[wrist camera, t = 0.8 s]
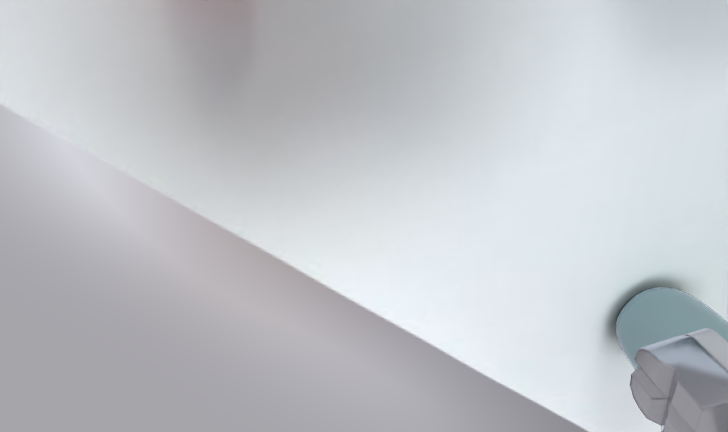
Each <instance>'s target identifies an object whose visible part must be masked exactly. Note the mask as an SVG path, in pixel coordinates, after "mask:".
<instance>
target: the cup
mask: <svg viewBox="0 0 728 432" xmlns="http://www.w3.org/2000/svg"><path fill="white" fill-rule="evenodd" d="M704 328H710V329H712V330H714V331H716V332H717V333H718V334H719V335H720V336H722V337H723V338H724V339H725V340H726V341H727V342H728V322H727V321H726V320H725V319H723V318H722V317H721V316H720V315H719V314H717V313H716V312H715V311H714V310H712V309H711V308H710V307H708V306H707V305H706V304H704V303H703V302H701V301H700V300H698V299H697V298H695V297H693V296H691V295H690V294H687V293H685V292H683V291H680V290H678V289H674V288H669V287H655V288H650V289H647V290H644V291H642V292H640V293H639V294H637V295H636V296H634V297H633V298H632V299H631V300H630V301H629V302H628V303H627V304H626V305H625V306H624V308H623V309H622V310H621V312H620V314H619V316H618V319H617V322H616V335H617V338H618V341H619V344H620V346H621V348H622V350H623V352H624V354H625V355H626V357H627V359H628V360H629V362H630V363H631V365H632V366H633V367H634V369H635V370H636V368H637V367H638V366H639V365H638V364H637V363H636V362H635V360H634V358H635V354H636V351H637V350H638V349H639V348H641V347H644V346H647V345H650V344H653V343H656V342H660V341H663V340H666V339H669V338H672V337H675V336H678V335H684V334H687V333H690V332H694V331H697V330H700V329H704Z"/></svg>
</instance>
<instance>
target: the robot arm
mask: <svg viewBox="0 0 728 432" xmlns="http://www.w3.org/2000/svg"><path fill="white" fill-rule="evenodd" d="M634 360H635V362H636V363H637V364H638V365H639V366H638V367H637V368H636V370H635V371H634V372H633V373H632V374H631V381H630V387H631V391H632V394H633V398H634V400H635V401H636V403H637V405H638V407H639V409H640V410H641V411H642V413H643V414H644V415H645V417H646V418H647V419H649V420H651V421H653V422H655V423H657V424H659V425H661V432H728V342H727V341H726V340H725V339H724V338H723V337H722V336H720V335H719V334H718V333H717V332H716V331H714V330H712V329H710V328H704V329H700V330H697V331H694V332H690V333H687V334H684V335H678V336H675V337H672V338H669V339H666V340H663V341H660V342H656V343H653V344H650V345H647V346H644V347H641V348H639V349H638V350H637V351H636V354H635V358H634Z"/></svg>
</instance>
